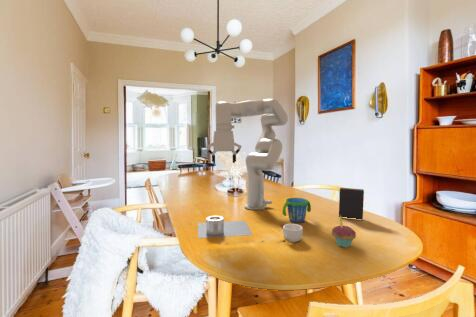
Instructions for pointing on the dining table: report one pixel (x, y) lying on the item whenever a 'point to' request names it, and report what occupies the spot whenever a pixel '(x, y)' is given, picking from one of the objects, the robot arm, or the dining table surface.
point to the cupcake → (343, 234)
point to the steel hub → (215, 225)
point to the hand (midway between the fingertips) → (224, 163)
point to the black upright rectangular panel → (351, 203)
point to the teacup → (292, 232)
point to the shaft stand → (226, 229)
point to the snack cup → (296, 209)
